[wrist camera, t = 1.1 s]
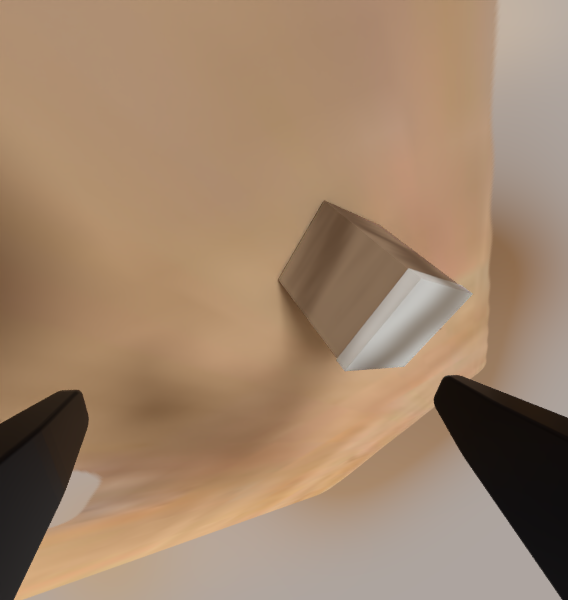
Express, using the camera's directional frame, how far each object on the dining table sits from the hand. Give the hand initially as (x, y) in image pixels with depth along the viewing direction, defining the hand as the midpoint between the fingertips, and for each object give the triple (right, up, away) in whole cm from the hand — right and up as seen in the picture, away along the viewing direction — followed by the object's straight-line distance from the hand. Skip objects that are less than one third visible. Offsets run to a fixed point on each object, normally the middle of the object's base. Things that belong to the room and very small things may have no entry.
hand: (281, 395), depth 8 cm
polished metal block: (+3, +6, +14) cm, 16 cm away
